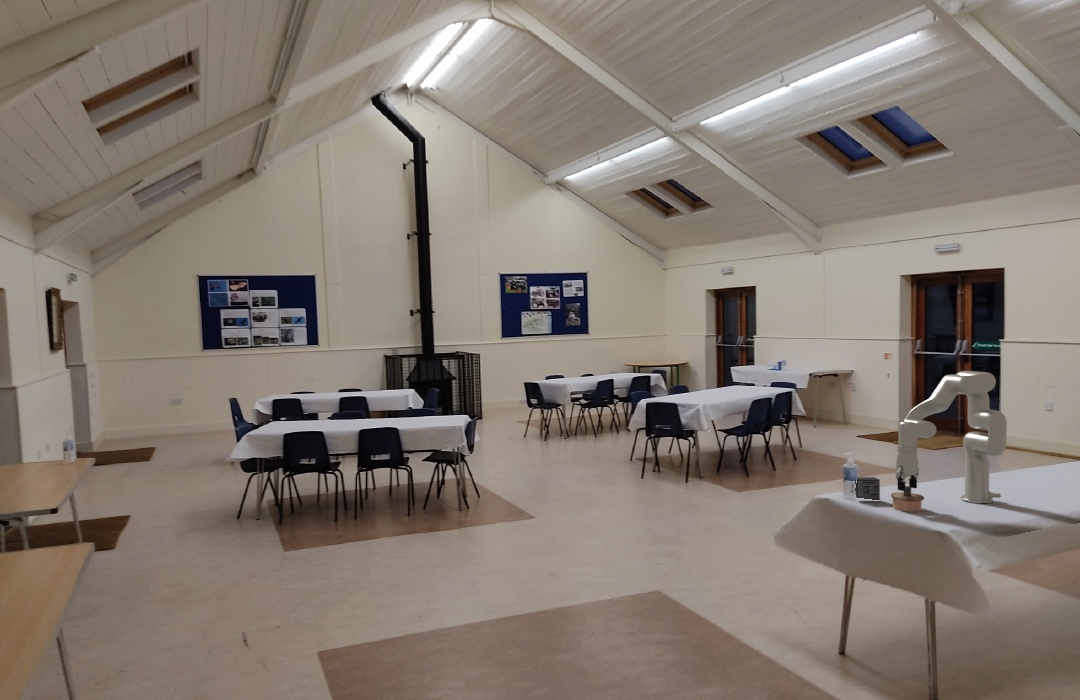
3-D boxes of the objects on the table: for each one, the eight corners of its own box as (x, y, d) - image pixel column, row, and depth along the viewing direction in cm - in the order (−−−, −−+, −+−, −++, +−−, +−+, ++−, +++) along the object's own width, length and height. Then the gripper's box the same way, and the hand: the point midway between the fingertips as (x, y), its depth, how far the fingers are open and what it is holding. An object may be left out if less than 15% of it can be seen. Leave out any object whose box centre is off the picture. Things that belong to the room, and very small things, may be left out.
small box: (874, 498, 342) (874, 476, 341) (880, 502, 335) (880, 479, 335) (851, 498, 342) (851, 476, 342) (856, 502, 336) (857, 479, 335)
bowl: (915, 505, 328) (915, 494, 328) (925, 512, 317) (925, 500, 317) (889, 505, 329) (889, 494, 329) (898, 511, 318) (898, 500, 318)
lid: (916, 494, 329) (917, 483, 329) (929, 501, 316) (929, 490, 316) (886, 493, 330) (886, 483, 330) (897, 500, 317) (897, 489, 317)
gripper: (910, 446, 330) (909, 485, 331) (888, 450, 321) (887, 490, 321) (926, 449, 324) (926, 488, 325) (904, 453, 314) (904, 493, 315)
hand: (907, 488), depth 323 cm, fingers open, 8 cm apart
